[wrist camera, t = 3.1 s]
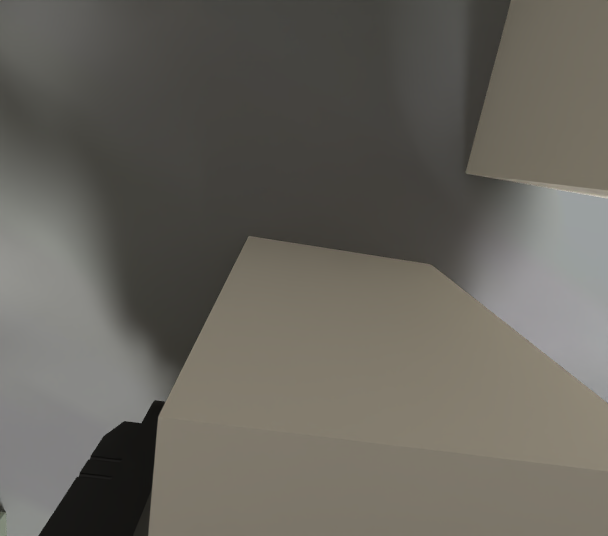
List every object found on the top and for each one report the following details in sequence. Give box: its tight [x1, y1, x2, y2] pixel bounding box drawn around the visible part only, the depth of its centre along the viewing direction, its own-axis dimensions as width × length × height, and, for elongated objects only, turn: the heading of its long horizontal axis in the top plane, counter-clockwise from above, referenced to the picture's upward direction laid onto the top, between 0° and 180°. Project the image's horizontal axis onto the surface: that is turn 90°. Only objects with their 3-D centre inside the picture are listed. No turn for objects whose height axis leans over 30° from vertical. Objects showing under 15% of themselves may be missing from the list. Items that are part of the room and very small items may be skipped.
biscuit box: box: [148, 236, 608, 536], centre depth 8 cm, size 5×9×7 cm, turn 170°
